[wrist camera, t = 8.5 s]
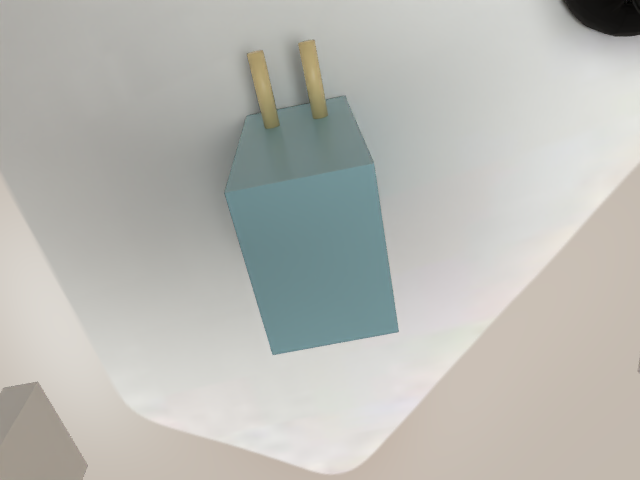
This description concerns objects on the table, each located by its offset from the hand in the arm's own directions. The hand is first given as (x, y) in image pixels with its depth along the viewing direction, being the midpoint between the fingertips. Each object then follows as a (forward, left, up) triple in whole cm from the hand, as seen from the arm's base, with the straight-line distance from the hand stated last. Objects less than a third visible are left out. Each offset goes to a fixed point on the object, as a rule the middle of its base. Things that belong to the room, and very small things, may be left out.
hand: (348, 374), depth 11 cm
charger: (0, -1, -17) cm, 17 cm away
